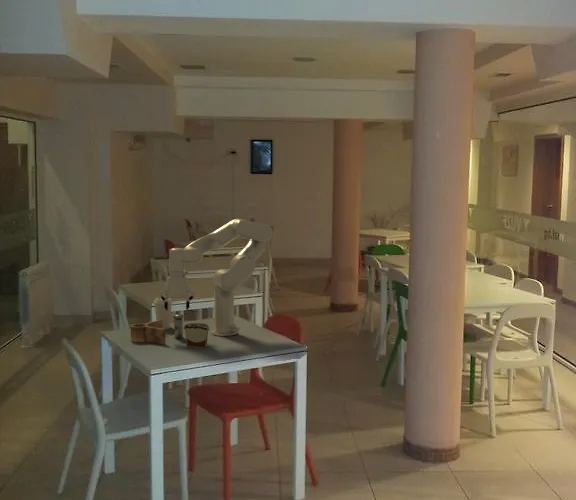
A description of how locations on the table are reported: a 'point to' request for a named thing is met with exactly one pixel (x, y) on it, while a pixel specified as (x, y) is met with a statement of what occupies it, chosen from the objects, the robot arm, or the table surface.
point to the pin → (178, 326)
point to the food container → (196, 335)
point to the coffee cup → (163, 312)
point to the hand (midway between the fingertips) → (176, 309)
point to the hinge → (148, 332)
